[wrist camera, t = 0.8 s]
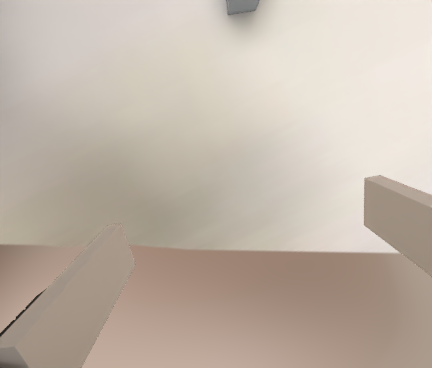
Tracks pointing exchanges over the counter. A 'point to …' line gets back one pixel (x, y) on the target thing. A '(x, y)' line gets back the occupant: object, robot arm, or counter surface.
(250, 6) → the tall blue pillar
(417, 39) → the counter surface
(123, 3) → the counter surface
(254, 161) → the counter surface
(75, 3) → the counter surface
